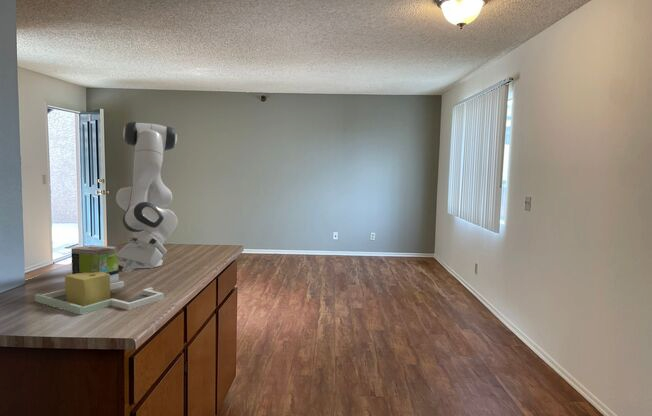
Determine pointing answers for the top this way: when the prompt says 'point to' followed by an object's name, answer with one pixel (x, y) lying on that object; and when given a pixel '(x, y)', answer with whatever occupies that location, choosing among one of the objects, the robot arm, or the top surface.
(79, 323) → the top surface
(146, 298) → the frame
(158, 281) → the top surface
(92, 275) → the cheese
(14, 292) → the top surface
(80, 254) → the tea box
